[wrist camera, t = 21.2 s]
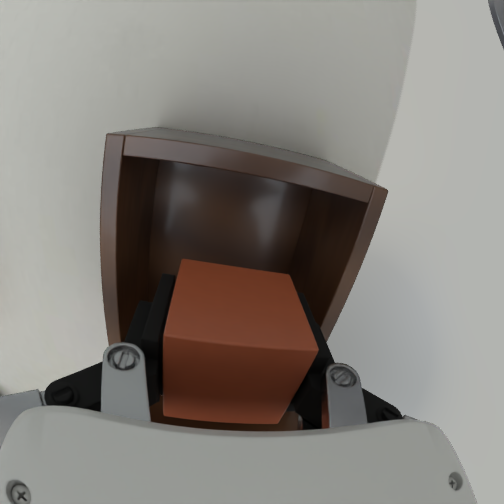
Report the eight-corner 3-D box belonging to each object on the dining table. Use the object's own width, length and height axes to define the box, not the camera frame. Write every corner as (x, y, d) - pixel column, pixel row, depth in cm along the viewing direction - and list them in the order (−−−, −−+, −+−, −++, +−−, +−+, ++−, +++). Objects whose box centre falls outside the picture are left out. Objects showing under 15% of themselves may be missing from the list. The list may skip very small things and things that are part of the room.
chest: (155, 126, 18) (105, 133, 10) (327, 160, 20) (389, 190, 12) (140, 308, 24) (115, 384, 16) (275, 327, 26) (293, 403, 18)
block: (182, 257, 11) (163, 334, 7) (290, 273, 12) (320, 349, 8) (174, 338, 13) (163, 416, 9) (264, 349, 13) (278, 424, 9)
